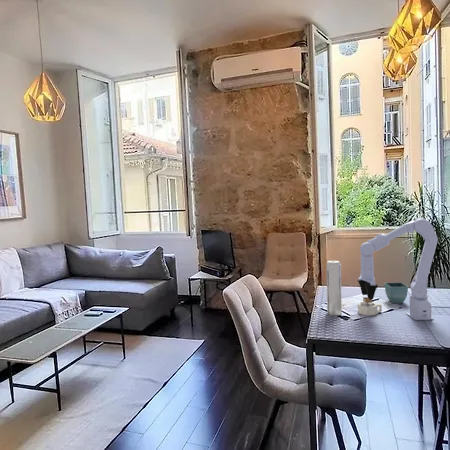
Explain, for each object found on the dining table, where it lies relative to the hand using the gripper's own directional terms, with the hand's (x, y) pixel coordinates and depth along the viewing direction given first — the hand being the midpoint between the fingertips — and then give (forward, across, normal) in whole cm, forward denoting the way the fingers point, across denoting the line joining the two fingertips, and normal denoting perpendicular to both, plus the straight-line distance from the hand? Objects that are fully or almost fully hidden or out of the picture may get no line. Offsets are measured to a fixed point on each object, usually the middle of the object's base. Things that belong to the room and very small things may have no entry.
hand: (367, 296), depth 185 cm
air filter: (+8, -1, -16) cm, 17 cm away
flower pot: (+8, -15, +20) cm, 26 cm away
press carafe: (+8, 0, +1) cm, 8 cm away
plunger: (+7, 0, 0) cm, 7 cm away
